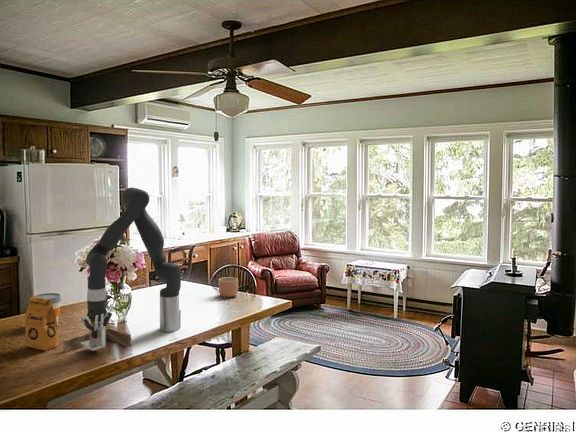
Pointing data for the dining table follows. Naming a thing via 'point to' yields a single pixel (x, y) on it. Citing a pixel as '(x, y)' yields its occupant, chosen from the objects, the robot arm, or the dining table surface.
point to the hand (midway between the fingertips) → (97, 337)
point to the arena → (109, 334)
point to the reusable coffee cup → (52, 301)
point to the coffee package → (41, 325)
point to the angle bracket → (95, 340)
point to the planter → (228, 286)
